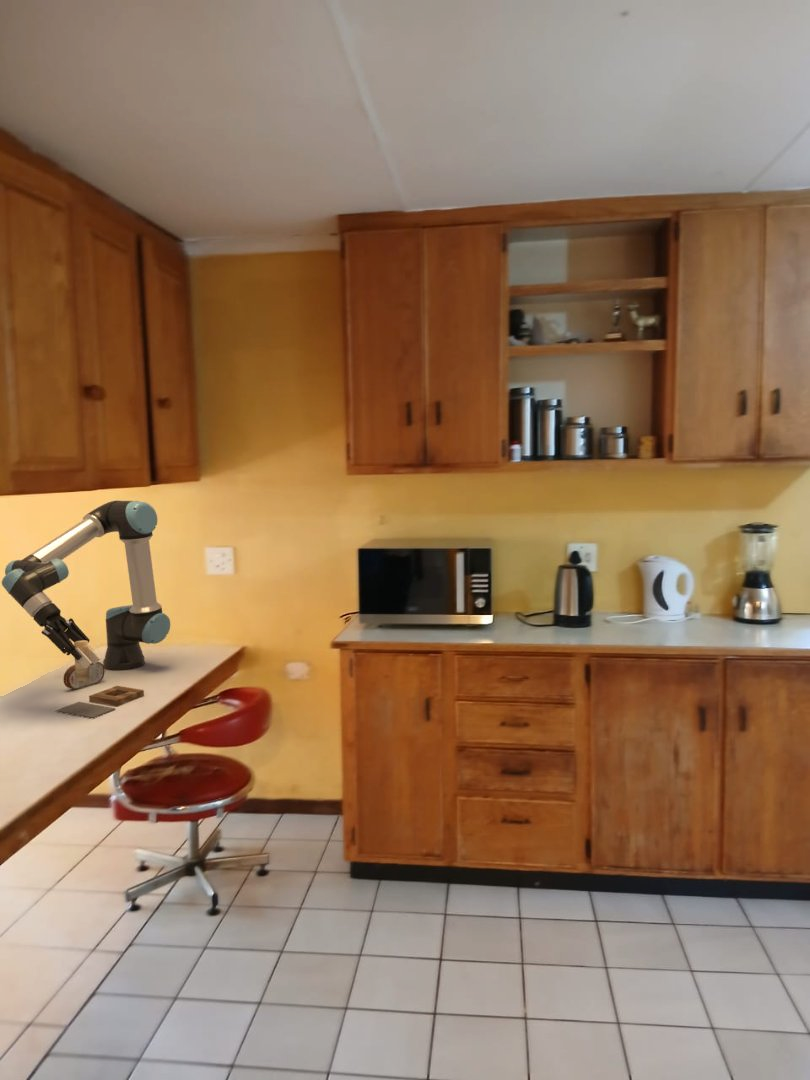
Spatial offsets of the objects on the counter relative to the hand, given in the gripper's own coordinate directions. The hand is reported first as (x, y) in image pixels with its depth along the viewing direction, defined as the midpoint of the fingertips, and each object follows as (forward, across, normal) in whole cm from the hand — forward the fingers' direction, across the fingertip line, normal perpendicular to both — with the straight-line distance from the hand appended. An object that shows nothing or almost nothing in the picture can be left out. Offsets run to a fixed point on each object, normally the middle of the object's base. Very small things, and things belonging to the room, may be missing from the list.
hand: (93, 663), depth 230 cm
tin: (-2, -24, -25) cm, 35 cm away
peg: (+1, 0, -6) cm, 6 cm away
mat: (+9, 0, -14) cm, 16 cm away
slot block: (+11, -13, -11) cm, 20 cm away
